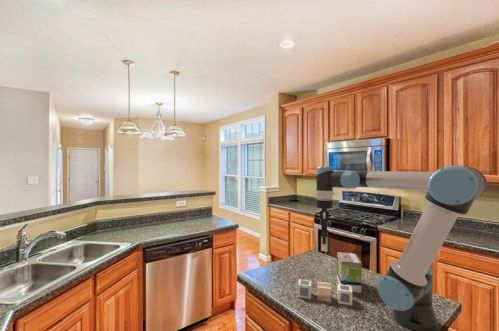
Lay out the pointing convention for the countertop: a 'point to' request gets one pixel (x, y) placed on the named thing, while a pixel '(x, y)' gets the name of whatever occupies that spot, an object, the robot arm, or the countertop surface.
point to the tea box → (349, 271)
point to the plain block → (324, 291)
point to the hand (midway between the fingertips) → (324, 248)
